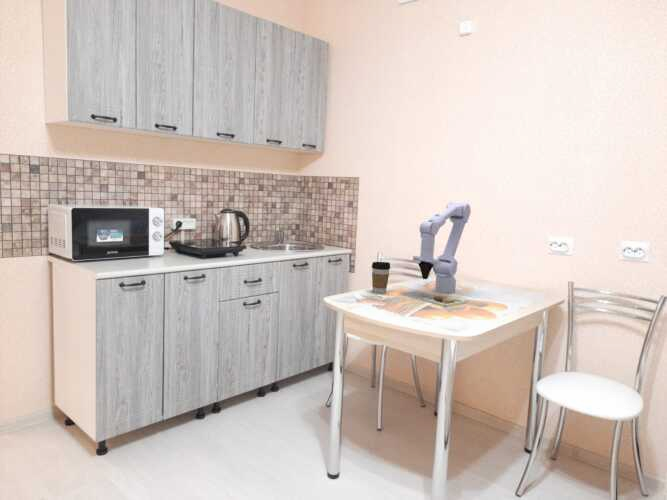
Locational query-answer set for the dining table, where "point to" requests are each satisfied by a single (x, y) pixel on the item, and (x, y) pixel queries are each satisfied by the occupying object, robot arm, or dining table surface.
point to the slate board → (419, 295)
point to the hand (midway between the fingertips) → (425, 278)
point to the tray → (446, 304)
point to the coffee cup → (380, 276)
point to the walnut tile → (439, 298)
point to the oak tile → (448, 300)
